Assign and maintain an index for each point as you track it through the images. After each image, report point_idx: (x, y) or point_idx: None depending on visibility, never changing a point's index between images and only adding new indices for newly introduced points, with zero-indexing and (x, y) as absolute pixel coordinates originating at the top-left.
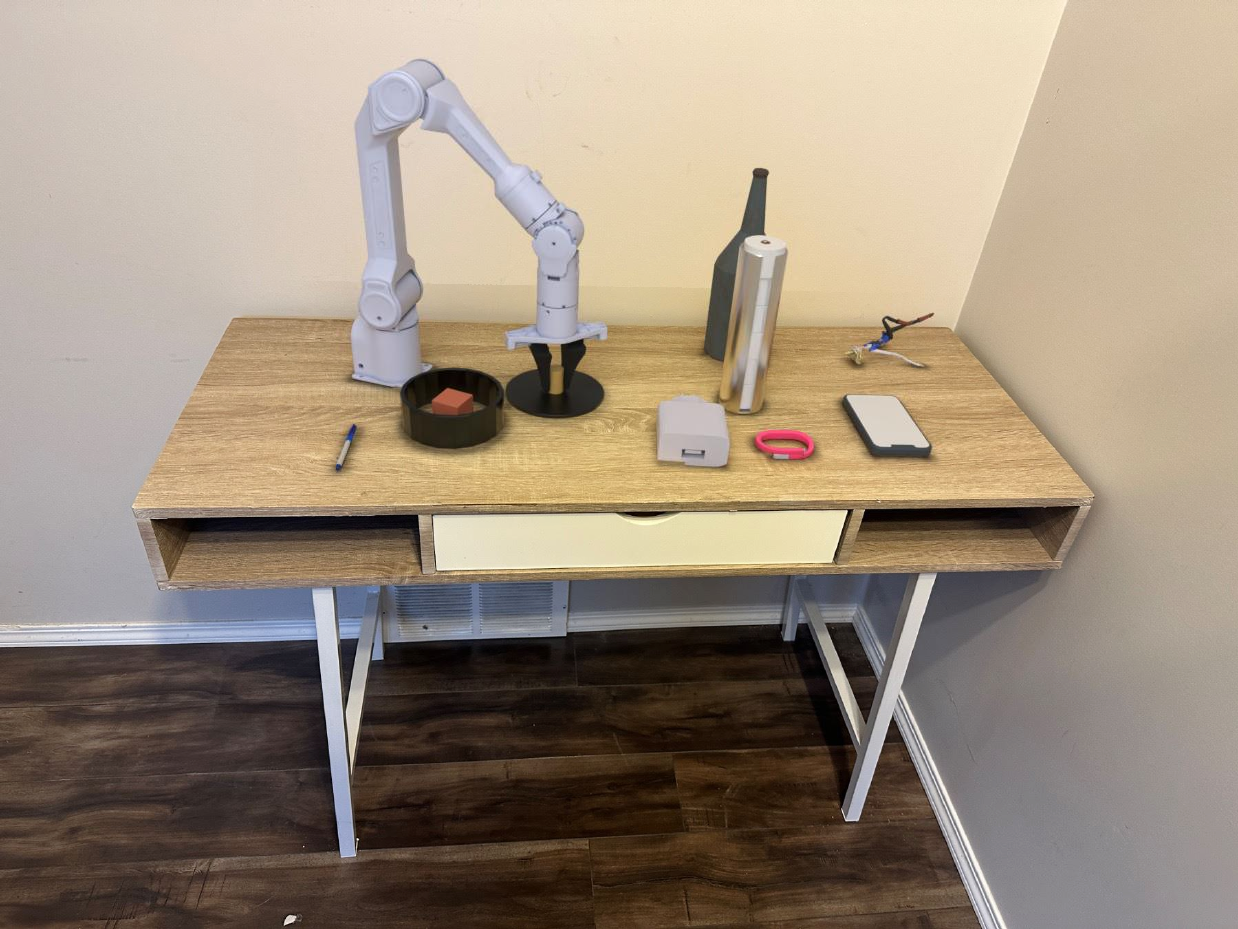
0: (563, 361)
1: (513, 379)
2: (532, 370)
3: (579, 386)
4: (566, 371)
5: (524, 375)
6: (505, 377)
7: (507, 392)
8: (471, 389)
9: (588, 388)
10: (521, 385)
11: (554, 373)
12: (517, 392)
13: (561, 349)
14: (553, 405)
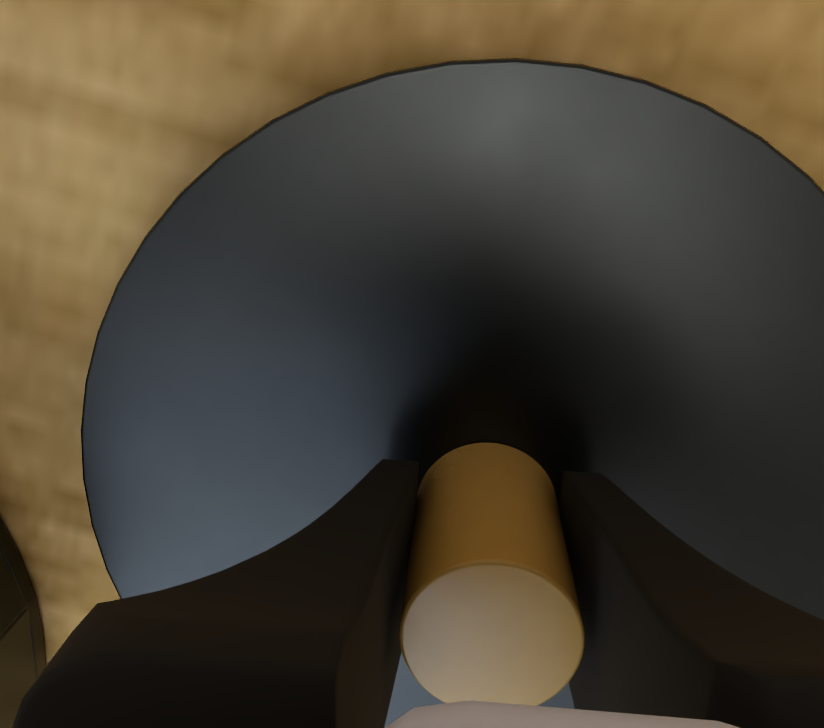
0: (612, 641)
1: (185, 220)
2: (413, 82)
3: (715, 502)
4: (586, 701)
5: (305, 168)
6: (170, 21)
7: (93, 426)
8: None
9: (771, 556)
10: (231, 348)
11: (448, 698)
12: (173, 448)
13: (652, 640)
14: (392, 693)
